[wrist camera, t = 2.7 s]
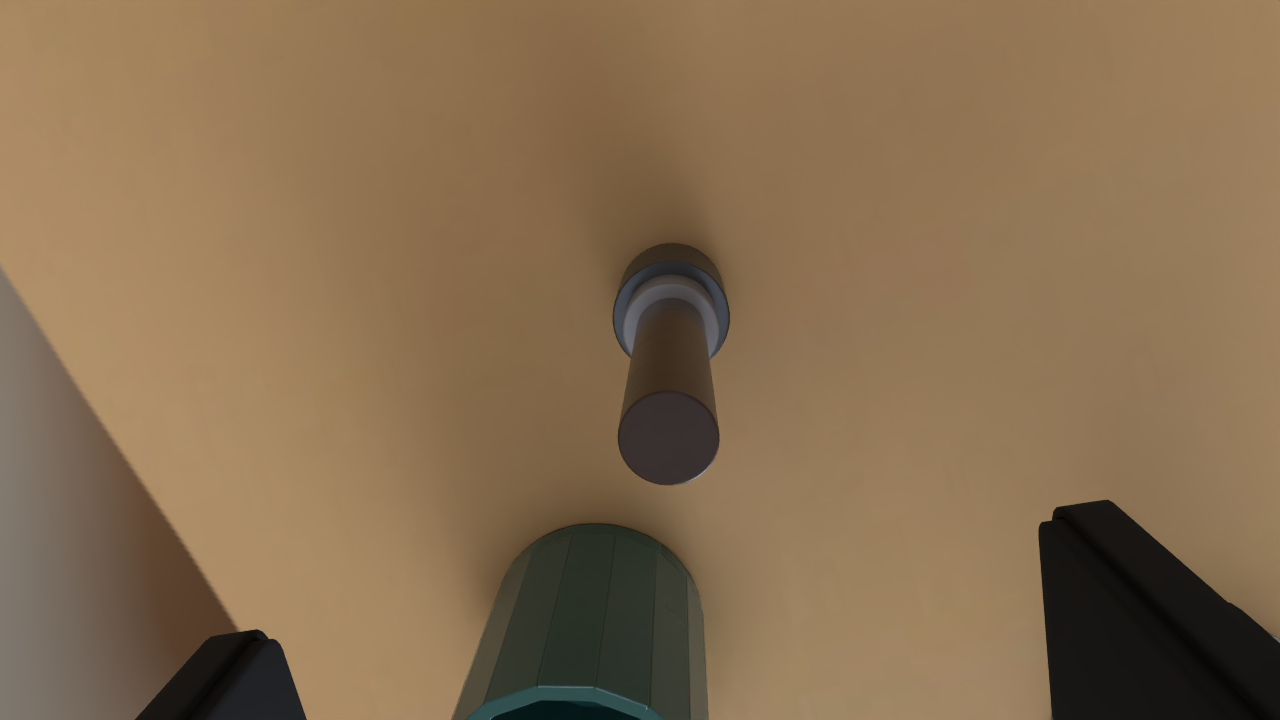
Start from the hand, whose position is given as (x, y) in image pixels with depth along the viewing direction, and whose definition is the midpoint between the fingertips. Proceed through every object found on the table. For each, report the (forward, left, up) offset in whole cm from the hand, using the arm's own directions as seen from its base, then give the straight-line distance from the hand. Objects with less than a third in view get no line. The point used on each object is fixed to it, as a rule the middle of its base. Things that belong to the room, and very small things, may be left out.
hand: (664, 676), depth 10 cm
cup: (+7, -11, -20) cm, 24 cm away
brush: (0, 0, -20) cm, 20 cm away
